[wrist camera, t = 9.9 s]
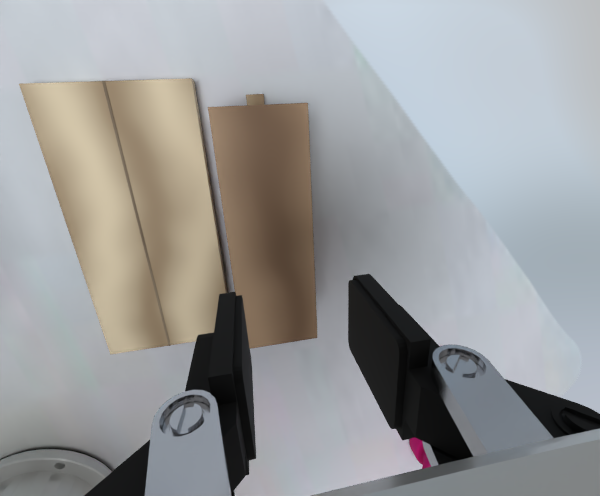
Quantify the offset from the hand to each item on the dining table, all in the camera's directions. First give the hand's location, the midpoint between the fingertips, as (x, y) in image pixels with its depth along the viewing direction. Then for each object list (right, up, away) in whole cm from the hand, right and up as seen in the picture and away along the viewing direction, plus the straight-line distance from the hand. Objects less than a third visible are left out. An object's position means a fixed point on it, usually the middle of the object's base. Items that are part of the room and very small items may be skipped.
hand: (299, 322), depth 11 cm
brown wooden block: (-3, +5, +14) cm, 15 cm away
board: (-9, +4, +13) cm, 17 cm away
